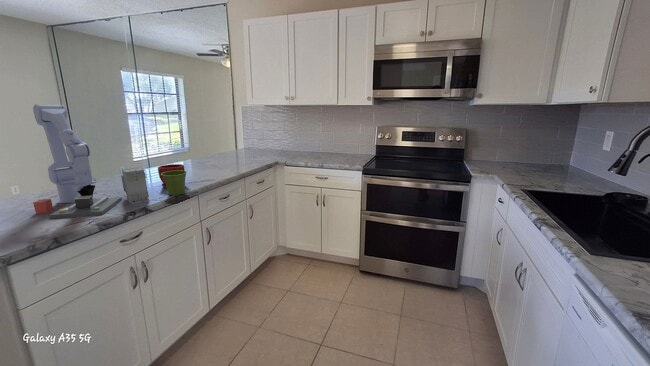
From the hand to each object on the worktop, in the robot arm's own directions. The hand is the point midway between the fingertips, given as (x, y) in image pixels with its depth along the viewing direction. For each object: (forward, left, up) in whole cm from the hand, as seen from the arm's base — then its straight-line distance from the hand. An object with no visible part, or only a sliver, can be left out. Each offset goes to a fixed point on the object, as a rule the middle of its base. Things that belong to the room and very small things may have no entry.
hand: (88, 202), depth 126 cm
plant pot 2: (-31, +27, -3) cm, 42 cm away
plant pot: (-14, +32, -3) cm, 35 cm away
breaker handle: (+3, 0, -1) cm, 3 cm away
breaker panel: (+1, 0, -3) cm, 3 cm away
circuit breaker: (-10, +15, -3) cm, 18 cm away
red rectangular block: (+1, -16, -3) cm, 16 cm away
